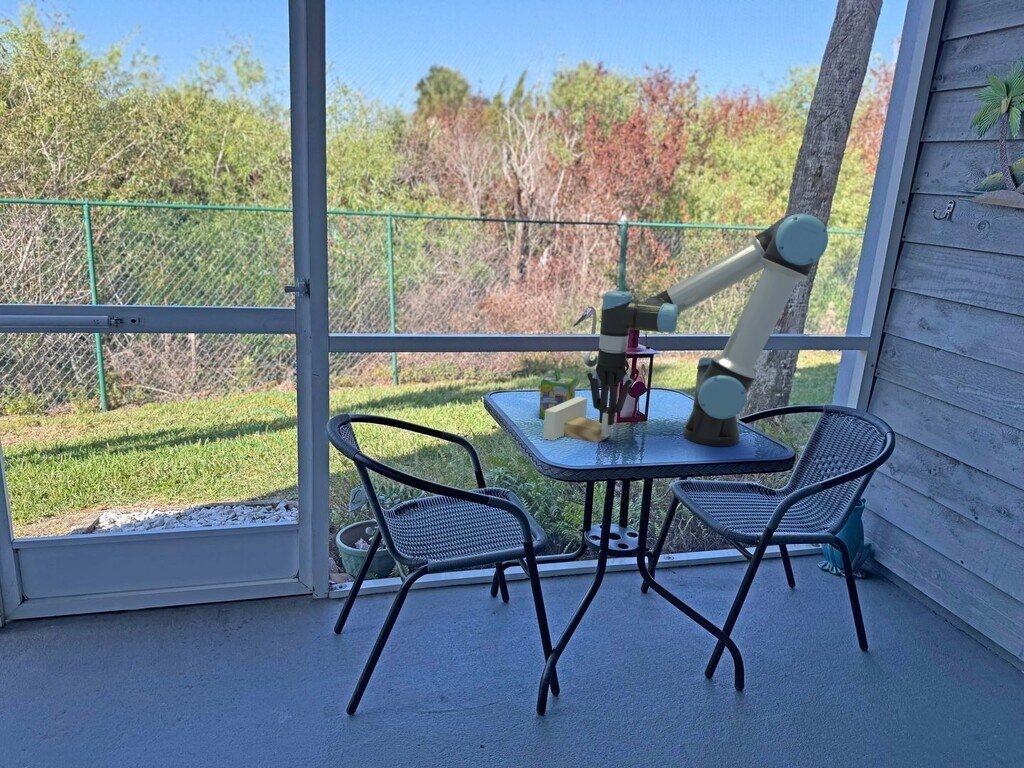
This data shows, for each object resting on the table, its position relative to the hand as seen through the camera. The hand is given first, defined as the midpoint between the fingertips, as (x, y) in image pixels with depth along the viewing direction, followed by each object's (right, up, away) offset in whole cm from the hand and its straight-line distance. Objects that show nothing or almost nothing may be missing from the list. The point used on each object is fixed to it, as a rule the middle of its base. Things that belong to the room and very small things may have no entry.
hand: (605, 435), depth 200 cm
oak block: (-5, -1, +4) cm, 6 cm away
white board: (-10, +1, +6) cm, 12 cm away
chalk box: (-12, +4, +21) cm, 24 cm away
